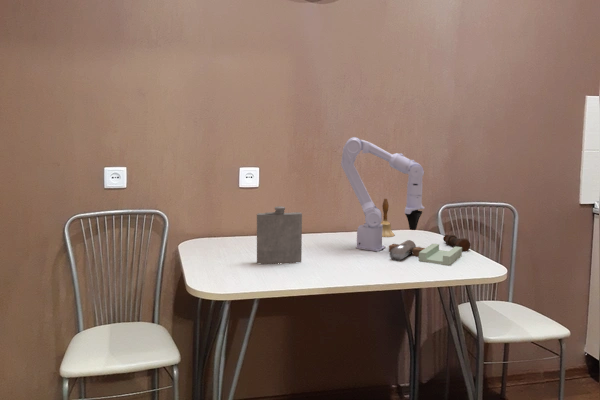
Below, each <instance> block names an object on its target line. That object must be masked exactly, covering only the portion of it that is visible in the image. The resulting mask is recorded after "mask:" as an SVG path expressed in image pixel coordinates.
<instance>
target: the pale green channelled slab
mask: <svg viewBox="0 0 600 400" xmlns="http://www.w3.org/2000/svg"><path fill="white" fill-rule="evenodd" d="M424 248H425V249H423V250H422V251H420V252H419V256H418V262H424V263H431V264H438V265H443V266H451V265H452V264H454V263H455V262H456V261H457V260H458V259H460V257H462V255H463V252H462V247H456V246H453V248H451V249H450V250H443V249H442V250H441V249H440V244H439V243H431V244H430V245H428V246H426V247H424Z"/></svg>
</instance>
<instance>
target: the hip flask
mask: <svg viewBox="0 0 600 400" xmlns="http://www.w3.org/2000/svg"><path fill="white" fill-rule="evenodd" d="M274 210H275V211H273V212H272V211H270V212H263V213H262V212H260V213H257V214H256V264H257V263H261V264H260V265H281V264H280V263H289V264H297V263H296V262H300V263H302V252H303V251H302V250H303V249H302V248H303V247H302V243H303V242H302V241H303V240H302V238H303V235H302V233H303V213H302V212H301V211H299V212H285V210H286V207H285V206H282V205H281V206H280V205H279V206H275V207H274ZM278 263H279V264H278Z"/></svg>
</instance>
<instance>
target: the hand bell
mask: <svg viewBox="0 0 600 400" xmlns="http://www.w3.org/2000/svg"><path fill="white" fill-rule="evenodd" d="M381 207H382V212H383V215H382V216H383V217H382V219H383V221H381V224H382V225H383V226H382V227H383V229H382V238H393V237H395V233H394V231H393V230H392V227H391V223H390V221H388V213H389V212H388V211H389V201H388V199H387V198H384V199H383V202H382V206H381Z"/></svg>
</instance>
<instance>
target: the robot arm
mask: <svg viewBox="0 0 600 400" xmlns="http://www.w3.org/2000/svg"><path fill="white" fill-rule="evenodd" d="M360 152H361V154H372V155H373V156H376V157H377V158H379V159H382V160H384V161H386V162H388V164H389V167H391V168H392V169H395V170H396V171H398V172H400V173H402V174H407V175H408V176H407V180H408V181H407V183H406V184H407V186H406V205H405V207H404V214H405V216H406V218H407V222H408V227H409V228H408V229H409V230H411V231H416V230H417V228H418V224H419V220H420V219H421V216H422V214H423V210H425V206H423V186H424V185H423V180H424V178H423V177H424V175H425V171H424V167H423V166H422V165H421V164H420V163H419V162H417V161H415V159H410V158H408V157H406V156H405V155H404V154H403V153H398V152H396V153H393V154H392V153H390V152H388V151H387V150H384V149H383V148H381V147H379V146H378V145H376V144H375V143H372V142H370V141H367V140H364V139H361V138H359V137H356V136H353V137H350V138H349V139H348V140H346V142H345V144H344V145H343V148H342V154H341V163H340V166H341V169H343V172H344V174H345V176H346V179H347V180H348V182H349V184H350V186H351V188H352V190H353V192H354V194H355V196H356V198H357V200H358V202H359V204H360V206H361V209H362V211H363V214H364V217H365V218H364V221H365V223H363V224H360V225H359V226H358V227H357V230H356V246H355V249H360V250H365V251H372V252H380V251H382V250H383V249H385V248H386V247H387V246H385V245H383V237H382V229H383V227H382V226H383V225H382V224H381V222H383V221H382V219H383V217H382V216H383V214H382V211H381V209H379V208H378V207H377V206H376V204H375V202H374V201H373V199H372V197H371V195H370V194H369V191H368V189H367V188H366V185H365V183H364V182H363V180H362V177H361V175H360V173H359V171H358V169H357V167H356V166H355V162H356V160H357V156H358V155H359V154H360Z"/></svg>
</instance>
